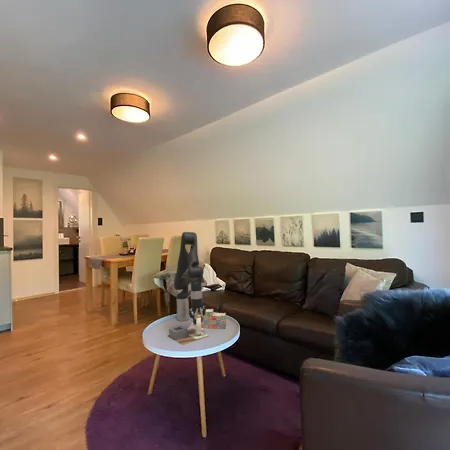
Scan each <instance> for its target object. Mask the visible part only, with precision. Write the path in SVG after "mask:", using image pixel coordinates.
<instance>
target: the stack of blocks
mask: <svg viewBox="0 0 450 450" xmlns="http://www.w3.org/2000/svg"><path fill="white" fill-rule="evenodd" d="M202 310H203V308H202ZM197 314H199V313H197ZM226 328H227V314H226V312H224V313H223V312H214V308H210V309H209V308H208V309H207V308H206V313H205V315H204V316H203V321H202V323H201V329H215V330H217V329H220V330H221V329H222V330H223V329H226Z"/></svg>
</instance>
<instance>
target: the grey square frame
mask: <svg viewBox="0 0 450 450" xmlns="http://www.w3.org/2000/svg"><path fill="white" fill-rule="evenodd" d="M188 330H189V329H188V327H185V326H184V325H177V326H174V327H170V328H168V336H169V337H168V338H170V337H171V338H170V339H172V338H173V339H174V341H175V340H178V339H181V338H184V337H187V336H188ZM173 339H172V340H173Z"/></svg>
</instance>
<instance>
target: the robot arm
mask: <svg viewBox="0 0 450 450" xmlns="http://www.w3.org/2000/svg"><path fill="white" fill-rule="evenodd" d="M187 245H189V246H190V245H192V247H191V249H190V250H189V252H188V251H187V248H186V246H187ZM179 249H180V250H179V256H178V261H177V268H176V271H175V272H176V273H175V277H174V281H173V288H174V290H176V291H180V292H179V293H177V294H176V315H177V316H176V317H177V321H179V322H184V321H188V320H190V319H191V320H192V323H193V324H194V325H195V324H196V315H197V313H199V314H201V323H202V321H203V316H204V315H205V313H206V309H207V308H208V306H207V305H203V304H204V303H203V301H204V300H203V287H202V284H203V283H202V280H203V277H204V269H203V268H204V267H202V266H199V264H200V259H199V254H198V236H197V233H196V232H194V231H193V232H190V231H183V232H182V233H181V239H180V248H179ZM185 273H187V277H183V275H184V274H185ZM188 278H189V279H196V280H194V281H191V282H190V300H191V301H190V302H191V307H190V308H189V306H190V303H189V280H188ZM202 309H203V310H202Z"/></svg>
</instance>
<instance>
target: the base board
mask: <svg viewBox="0 0 450 450" xmlns="http://www.w3.org/2000/svg"><path fill="white" fill-rule="evenodd" d="M187 330H188V336H187V337H184V338H181V339H178V340H174V339H173V338H171V337H169V335H168V336H167V337H168V338H170V339H172V340H174V341H175V342H176V343H178V344H180V345H182V346H185V345H187V344H191V343H193V342H194V343H195V342H196V341H200V340H202V339H205V338H208V337H210V335H208V334H206V333H204V332H202V333H201V334H196V331H195V327H193V328H191V329H187Z"/></svg>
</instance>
